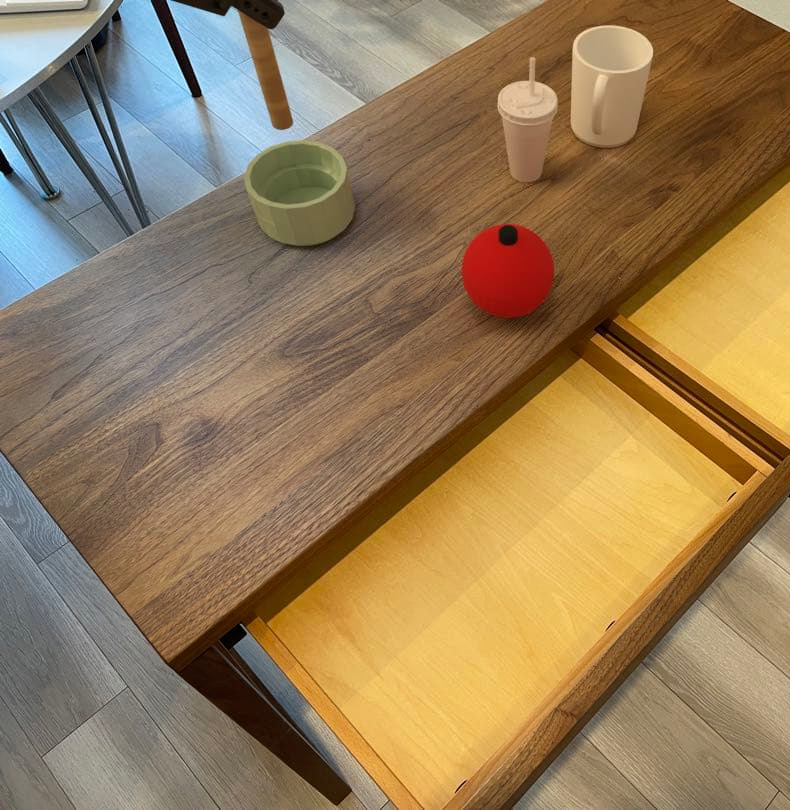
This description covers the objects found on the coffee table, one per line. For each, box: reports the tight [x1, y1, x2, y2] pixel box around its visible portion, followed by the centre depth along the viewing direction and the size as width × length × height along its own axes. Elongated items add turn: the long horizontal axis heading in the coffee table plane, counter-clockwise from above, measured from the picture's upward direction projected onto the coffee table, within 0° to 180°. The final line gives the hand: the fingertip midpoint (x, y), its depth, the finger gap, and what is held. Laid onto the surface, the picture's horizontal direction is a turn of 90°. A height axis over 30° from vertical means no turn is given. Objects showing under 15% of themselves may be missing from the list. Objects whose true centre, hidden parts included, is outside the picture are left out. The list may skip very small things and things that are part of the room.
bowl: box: [243, 139, 356, 247], centre depth 82 cm, size 10×10×6 cm
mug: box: [570, 24, 654, 149], centre depth 90 cm, size 11×9×10 cm
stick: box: [237, 10, 294, 131], centre depth 68 cm, size 2×2×15 cm
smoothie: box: [496, 56, 559, 183], centre depth 84 cm, size 6×6×14 cm
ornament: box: [461, 223, 555, 319], centre depth 75 cm, size 9×9×10 cm
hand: (275, 9), depth 66 cm, fingers closed on stick, 2 cm apart
